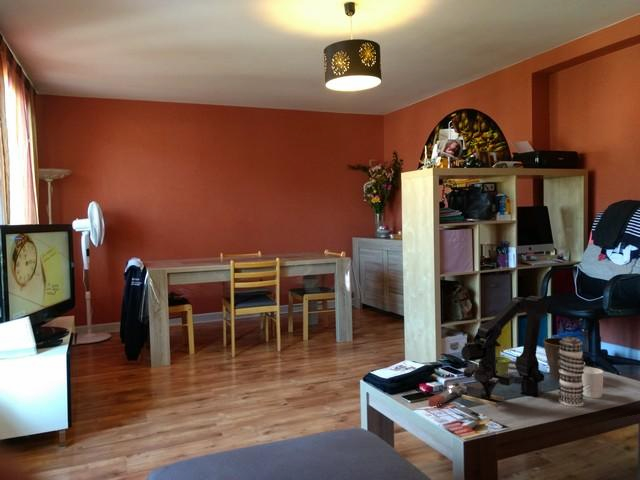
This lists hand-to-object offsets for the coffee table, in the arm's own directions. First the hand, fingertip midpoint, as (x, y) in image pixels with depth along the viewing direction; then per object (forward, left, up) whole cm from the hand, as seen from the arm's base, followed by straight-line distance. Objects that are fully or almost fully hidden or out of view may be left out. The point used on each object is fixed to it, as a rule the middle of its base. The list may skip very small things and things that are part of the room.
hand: (488, 397), depth 198 cm
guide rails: (+3, 0, -2) cm, 3 cm away
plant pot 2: (-13, -46, -2) cm, 48 cm away
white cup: (-29, -31, -2) cm, 42 cm away
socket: (+5, 0, -2) cm, 5 cm away
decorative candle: (-25, -18, -2) cm, 31 cm away
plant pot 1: (+8, -29, -2) cm, 30 cm away
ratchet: (+11, +8, -1) cm, 13 cm away
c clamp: (+9, -47, -2) cm, 48 cm away
